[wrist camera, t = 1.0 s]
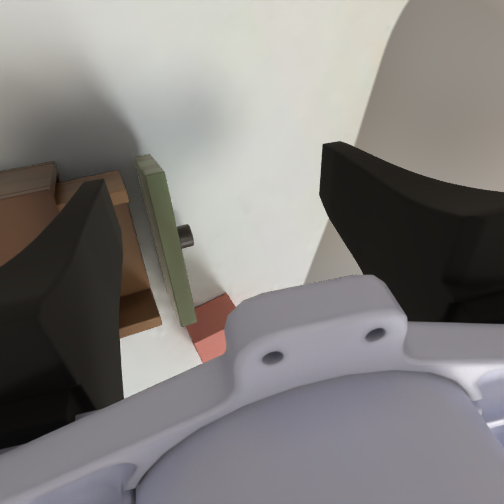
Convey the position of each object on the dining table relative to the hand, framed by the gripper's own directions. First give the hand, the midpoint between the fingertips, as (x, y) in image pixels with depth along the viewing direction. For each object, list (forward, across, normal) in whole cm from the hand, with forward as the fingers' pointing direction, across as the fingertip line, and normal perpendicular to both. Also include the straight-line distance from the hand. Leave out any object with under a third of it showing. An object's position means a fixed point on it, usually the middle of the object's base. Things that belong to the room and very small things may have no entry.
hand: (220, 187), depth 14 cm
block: (+13, +1, +22) cm, 26 cm away
